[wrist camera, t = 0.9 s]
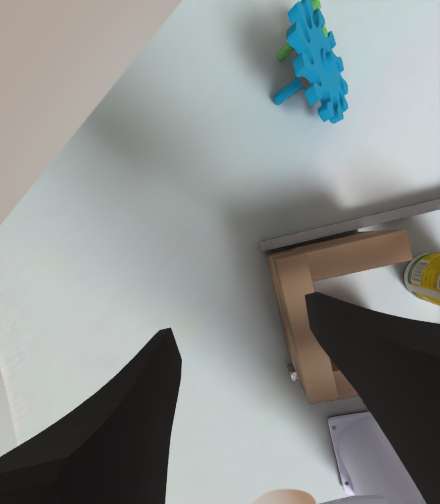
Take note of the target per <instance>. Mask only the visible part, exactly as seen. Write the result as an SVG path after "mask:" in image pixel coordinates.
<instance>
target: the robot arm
mask: <svg viewBox="0 0 440 504" xmlns="http://www.w3.org/2000/svg"><path fill="white" fill-rule="evenodd" d="M305 301H306V307H307V314H308V320H309V327H310V330H311V331H312V333H313V335H314V337H315V338H316V340H317V341H318V343H319V345H320V346H321V347H322V349H323V350H324V351H325V352H326V354H327V355H328V356H329V358H330V359H331V360H332V361H333V363H334V364H335V365H336V366H337V368H338V369H339V370H340V371H341V373H342V374H343V375H344V376H345V378H346V379H347V380H348V381H349V383H350V384H351V385H352V387H353V388H354V389H355V391H356V392H357V393H358V395H359V396H360V398H361V399H362V401H363V402H364V404H365V405H366V407H367V408H368V410H369V412H362V413H356V414H349V415H343V416H336V417H331V418H329V419H328V425H329V429H330V434H331V438H332V442H333V447H334V451H335V455H336V460H337V464H338V468H339V473H340V477H341V481H342V486H343V489H344V492H345V493H346V494H348V495H352V494H355V496H350V497H346V498H341V499H337V500H333V501H328V502H324V503H320V504H440V324H437V323H431V322H424V321H418V320H412V319H407V318H402V317H398V316H393V315H389V314H385V313H381V312H377V311H373V310H370V309H366V308H363V307H360V306H357V305H353V304H350V303H348V302H345V301H342V300H339V299H336V298H333V297H330V296H327V295H324V294H321V293H318V292H314V293H310V294H306V295H305ZM181 366H182V359H181V356H180V353H179V350H178V347H177V344H176V341H175V338H174V335H173V332H172V329H171V328H167V329H163V330H159V331H158V332H157V333H156V334H155V335H154V336H153V337H152V338H151V339H150V341H149V342H148V343H147V344H146V345H145V346H144V347H143V348H142V349H141V350H140V351H139V352H138V354H137V355H136V356H135V357H134V358H133V359H132V360H131V361H130V362H129V363H128V364H127V365H126V366H125V367H124V368H123V369H122V370H121V371H120V372H119V373H118V374H117V375H116V376H114V377H113V378H112V379H111V380H110V381H109V382H108V383H107V384H105V385H104V386H103V387H102V388H101V389H100V390H98V391H97V392H96V393H95V394H94V395H92V396H91V397H90V398H88V399H87V400H86V401H84V402H83V403H82V404H80V405H79V406H78V407H77V408H75V409H74V410H73V411H71V412H70V413H69V414H67V415H66V416H64V417H63V418H61V419H60V420H58V421H57V422H56V423H54V424H53V425H51V426H50V427H48V428H47V429H45V430H44V431H42V432H40V433H39V434H37V435H36V436H34V437H33V438H31V439H29V440H28V441H26V442H24V443H23V444H21V445H19V446H18V447H16V448H14V449H13V450H11V451H9V452H8V453H6V454H4V455H3V456H1V457H0V504H165V496H166V483H167V469H168V458H169V447H170V438H171V431H172V425H173V419H174V414H175V408H176V403H177V398H178V392H179V386H180V380H181ZM332 426H334V427H332Z"/></svg>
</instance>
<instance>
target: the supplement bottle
mask: <svg viewBox="0 0 440 504" xmlns="http://www.w3.org/2000/svg"><path fill="white" fill-rule="evenodd" d="M404 281H405V285H406V287H407V289H408V290H409V291H410V293H411V294H413V295H414V296H416V297H417V298H419V299H422V300H425V301H427V302H430V303H433V304H436V305H439V306H440V253H438V252H429V253H424V254H421V255H419V256H417V257H415V258H414V259H413V260H412V261H411V262H410V263H409V264H408V266H407V267H406V269H405V273H404Z"/></svg>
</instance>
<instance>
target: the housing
mask: <svg viewBox="0 0 440 504" xmlns="http://www.w3.org/2000/svg"><path fill="white" fill-rule="evenodd" d="M266 256H267V261H268V265H269V269H270V273H271V278H272V282H273V286H274V290H275V295H276V299H277V303H278V307H279V311H280V316H281V320H282V324H283V328H284V333H285V337H286V341H287V345H288V350H289V354H290V358H291V362H292V364H293V366H294V369H295V371H296V374H297V376H298V378H299V381H300V383H301V385H302V388H303V390H304V392H305V395H306V397H307V399H308V402H309V404H313V403H319V402H326V401H332V400H338V399H344V398H350V397H357V396H359V395H358V393H357V392H356V391H355V389H354V388H353V387H352V385H351V384H350V383H349V381H348V380H347V379H346V378H345V376H344V375H343V374H342V373H341V371H340V370H339V369H338V368H337V366H336V365H335V364H334V363H333V361H332V360H331V359H330V358H329V356H328V355H327V354H326V352H325V351H324V350H323V349H322V347H321V346H320V345H319V343H318V341H317V340H316V338H315V337H314V335H313V333H312V331H311V330H310V327H309V320H308V314H307V307H306V301H305V295H306V294H310V293H314V288H313V284H312V282H314V281H318V280H323V279H328V278H332V277H337V276H341V275H346V274H351V273H355V272H360V271H364V270H369V269H374V268H378V267H383V266H387V265H392V264H397V263H401V262H406V261H410V260H413V258H412V253H411V248H410V244H409V239H408V234H407V230H388V231H367V232H357V233H353V234H349V235H345V236H340V237H336V238H332V239H328V240H323V241H319V242H315V243H311V244H306V245H302V246H298V247H294V248H289V249H285V250H281V251H277V252H272V253H268V254H266Z"/></svg>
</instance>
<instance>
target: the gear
mask: <svg viewBox="0 0 440 504" xmlns="http://www.w3.org/2000/svg"><path fill="white" fill-rule="evenodd" d="M320 8H321V6H320V2H319V0H302V1H301V2H300V1H299V2H297V3H296V4H295V5H294V6H293V8H292V9H291V10H290V11H289V12H288V13H287V14H288V17H289V20H290V22H291V24H292V26H291V27H290V28H289V29H288V30H287V38H286V39H287V41H288V44H287V45H285V46H284V47H283V48H282V49H281V50H280V51H279V52H278V53H277V56H278V58H279V60H282V59H283V58H284V57H285V56H286V55H287V54H288V53H289V52H290V51H292V50H293V49H295V51H296V52H297V57H295V58H294V59H293V67H294V71H295V75H296V76H297V78H296V79H295V80H293V81H292V82H291V83H290V84H288V85H287V86H286V87H284V88H283V89H282V90H281V91H279V92H278V93H277V94H276V95H274V101H275V103H276V104H277V105H279V104H281V103H282V102H283V101H285V100H286V99H287V98H289V97H290V96H291V95H293V94H294V93H296V92H297V91H298V90H300V89H301V88H302V87H304V88H305V91H304V93H305V96H306V98H307V101H308V103H309V105H312V104H314V103H315V102H317V101H319V100H320V99H321V103H322V106H321V107H319V108H318V114H319V116H320V118H321V119H322V120H323V121H324V122H325V121H327V120H330V122H331V123H336V122H338V121H340V120H342V119H343V112H344V111H346V110H347V109H348V104H347V101H346V99H345V97H344V95H346V94H347V93H348V86H347V83H346V81H345V80H344V79H343V78H342V77H341V75H340V72H342V71H343V70H344V68H343V62H342V59H341V57H337V56H335V54H334V53H333V51H332V48H333V47H334V46H336V43H335V39H334V36H333V33H332V31H330V32H329V33H327V30H326V27H325V26H324V25H325V20H324V17H323V15H322V13H321V11H320ZM306 88H307V89H306Z"/></svg>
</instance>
